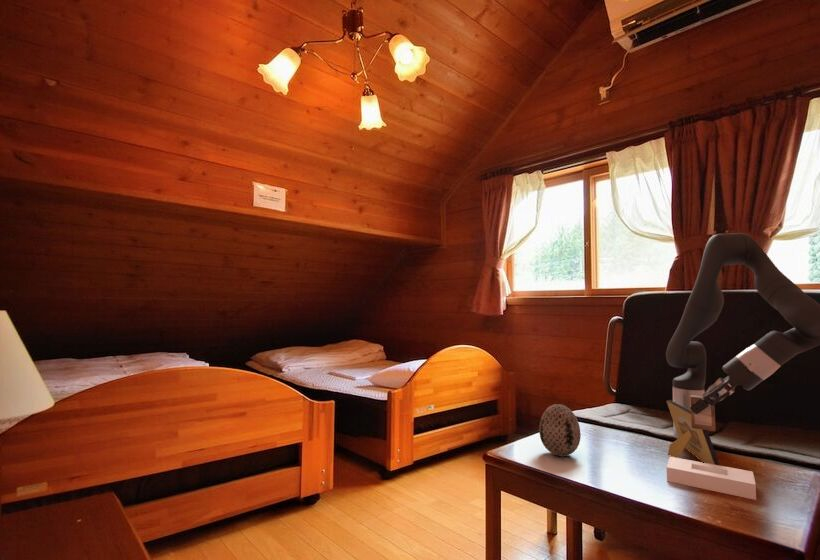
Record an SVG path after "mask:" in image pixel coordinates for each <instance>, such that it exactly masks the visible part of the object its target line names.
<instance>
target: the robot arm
mask: <svg viewBox="0 0 820 560" xmlns="http://www.w3.org/2000/svg"><path fill="white" fill-rule="evenodd" d="M733 265H734V266H735V265H736V266H737V265H743V266H745V267H746V268H748V269H750V270H751V271H752V272H753V276H754V277H753V283H754V287H755V289H756V291H757V292H758V294H759V296H760V297H762V298H763V299H764V300H765V301H766V302H767V303H768V304H769V305H770V306H771V307H773V309H775V310H776V311H778V313H779V314H780V315H781V316H782V317H783V318H784V320H786V321H787V322H788V323H789V324H790V325H791V326H792V327H793V328H790V329H789V330H787V331H784V332H781V331H778V330H771V331H770V332H767V333H766V334H765V335H764V336H762V337H761V338H760V339H758V340H757V341H756V342H754V343H753V344H751V345H749V346H748V347H745V349H744V350H741V351H740V352H739V353H738V354H737V355H736V356H733V358H731V359H730V360H729V361H728V362H726V363H725V364H724V365H722V367H721V369H722V370H723V372H724V373H726V374H727V376H726V377H724V378H722V377H719V378H718V379H716V380H715V382H714V383H713V384H711V385H710V386H708V388H707V390H705V384H706V380H707V379H706V378H707V374H706V373H707V351H706V348H705V345H704V344H703V343H701V342H700V341H695V340H694V339H695V338H696V337H697V336H699V334H701V333H703V332H704V331H706V330H707V329H709V328H710V327H711V326H712V325H713V324H714V323H715V322H717V321H718V318H719V316H720V314H721V313H722V309H723V308H724V307H723V306H724V304H725V296H724V293H723V291H722V289H721V286H720V284H719V276H720V274H721V271H722V269H723V267H725V266H733ZM682 313H683V314H682V316H681V319H680V321H679V324H678V325H677V328H676V330H675V332H674V333H673V334H672V337H671V338H670V341H669V342H668V345H667V346H666V347H667V348H666V351H665V357H666V358H665V359H666V363H667V364H668V365H669V366H670V367H672V368H673V367H674V368H677V369H687V371H686V372H685V373H683V374H681V375H678V376H676V377H674V378H673V379H672V401H673V402H675V403H677V404H679V405H680V406H682V407H684V408H686V409H688V410H690V411H691V410H692V411H693V412H694V413H695V414H699V413H700V412H701V411H703V410H704V409H705V408H707V407H708V406H712V405H714V406H715V405H716V404H717V403H719V402H721V401H723V400H724V399H726V397H730V396H731V395H732V394H733V393H735V388H737V386H741V388H743V389H744V390H746V391H751V390H752V389H754V388H755V387H757V385H759V384H761V382H762V383H763V381H765V380H766V379H767V378H769V377H771V375H773V374H775V372H776V371H777V370H778V369H779V368H781V367H782V366H783V365H784V364H786V363H787V362H789V361H790V360H792V359H793V358H794V357H795V356H797V355H799V354H802V353H804V352H807V351H810V350H811V349H813V348H816V347H818V346H820V303H819V302H818V301H816V300H815V299H814V298H812V297H811V296H809V295H808V294H806V293H805V292H804V291H803V289H801V288H800V287H799V286H798V285H797V284H796V283H794V282H793V281H792V280H791V279H790V278H788V277H787V276H786V275H785V274H784V273H783V272H782V271H780V269H778V267H777V266H776V264H775V263H774V262H773V261H772V259H771V258H770V257H769V255H768V254H767V253H766V252H765V251H764V249H763V248H762V247H761V246H760V244H759V242H757V241H756V240H755V238H754V237H752V236H751V235H749V234H747V233H742V232H734V233H733V232H732V233H717V234H716V233H715V234H714V235H712V236H711V237H710V238H709V239H708V240H707V243H706V244H705V248H704V251H703V255H702V258H701V263H700V267H699V270H698V273H697V277H696V279H695V281H694V286H693V288H692V290H691V293H690V295H689V297H688V300H687V303H686V304H685V308H684V310H683V312H682ZM692 340H694V341H692ZM691 395H697V396H702V398H701V399H700V400H699V401H697V402H696V403H695V404H693V405H692V406H691ZM709 397H714V400H712V399H711V398H709ZM672 425H673V428H672V429H673V437H674V439H676V440H677V439H678V438H679V437H678V434H677V431H676V428H675V425H674V422H672Z"/></svg>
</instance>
